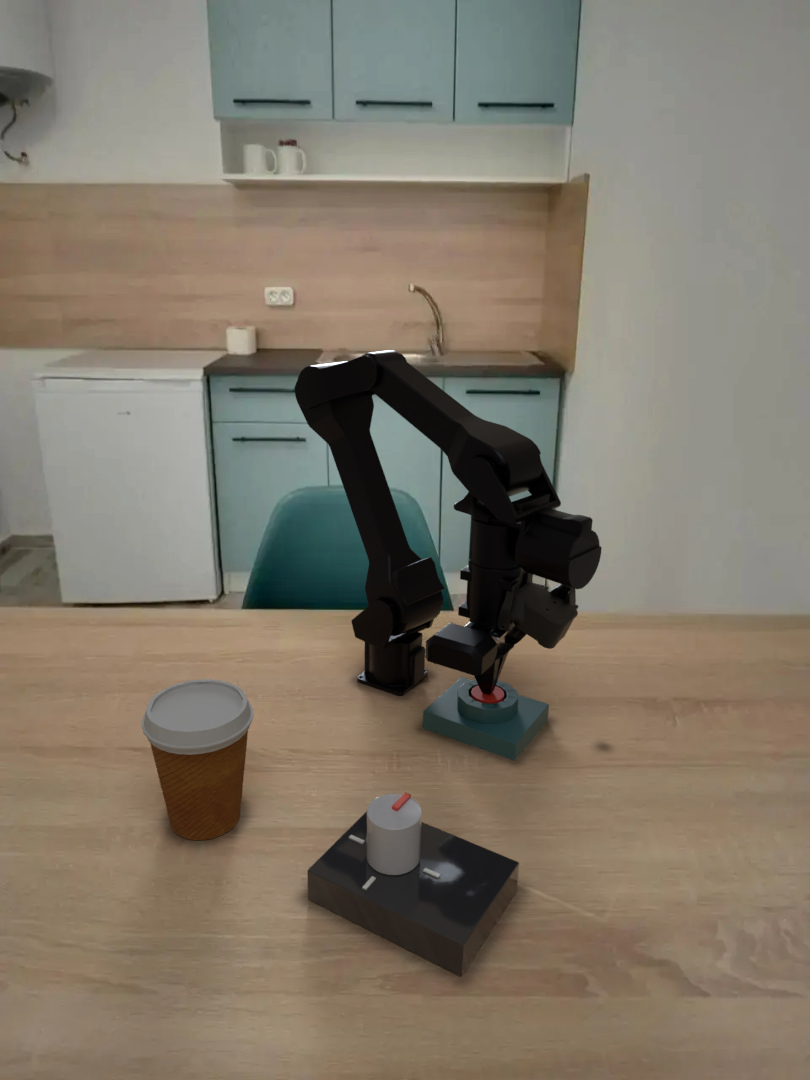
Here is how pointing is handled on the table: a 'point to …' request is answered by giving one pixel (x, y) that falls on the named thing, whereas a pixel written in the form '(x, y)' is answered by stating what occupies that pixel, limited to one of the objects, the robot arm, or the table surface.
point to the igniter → (486, 719)
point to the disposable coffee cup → (200, 753)
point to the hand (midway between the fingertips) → (487, 692)
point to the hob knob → (393, 834)
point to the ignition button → (489, 699)
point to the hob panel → (419, 893)
